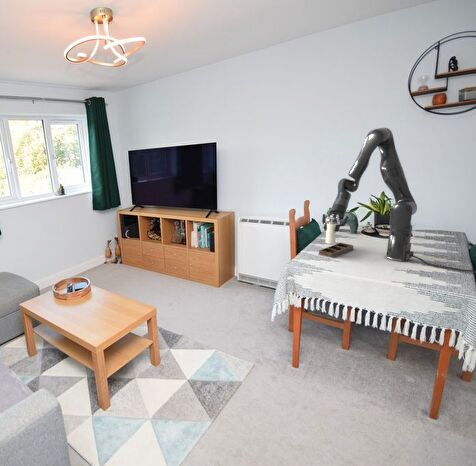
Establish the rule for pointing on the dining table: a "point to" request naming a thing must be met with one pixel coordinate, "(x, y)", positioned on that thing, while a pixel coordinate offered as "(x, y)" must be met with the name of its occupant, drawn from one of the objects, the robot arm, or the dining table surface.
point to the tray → (336, 250)
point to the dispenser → (331, 231)
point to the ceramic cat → (350, 221)
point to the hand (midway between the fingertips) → (330, 230)
